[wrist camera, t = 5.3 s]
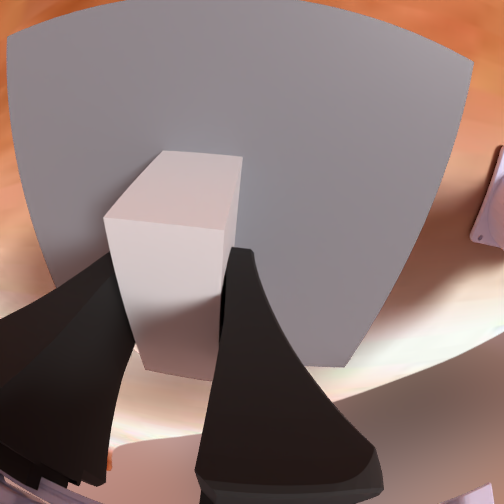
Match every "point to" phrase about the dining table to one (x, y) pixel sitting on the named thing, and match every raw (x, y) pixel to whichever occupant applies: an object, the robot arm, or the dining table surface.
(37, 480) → the robot arm
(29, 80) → the lid
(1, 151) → the dining table surface
